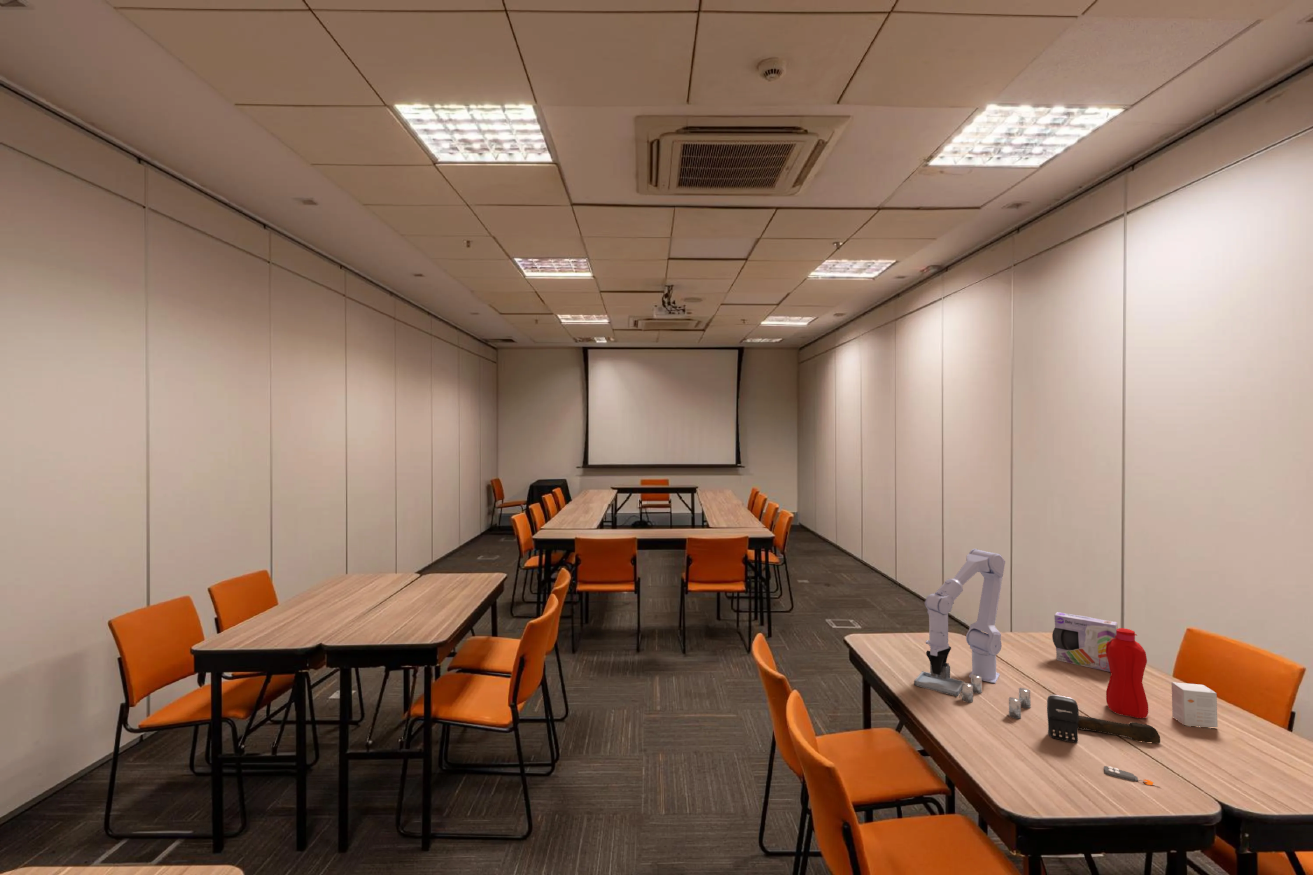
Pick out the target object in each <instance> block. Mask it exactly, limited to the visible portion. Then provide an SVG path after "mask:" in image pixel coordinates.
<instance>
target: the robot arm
mask: <svg viewBox="0 0 1313 875" xmlns="http://www.w3.org/2000/svg"><path fill="white" fill-rule="evenodd" d="M965 558H966V560H965V562H964V564H963V565H962V567H961V568H960V569H959V571H958V572H957V573H956V575H954V577H953V578H947V579H945V580H944V583H942V585H940V587H939V588H938V589H937V590H936V591H935V592H933V593H930V594H928V595H927V596H926V599H925V600H924V606H925V608H926V609H927V614H928V623H929V624H928V631H929V632H928V634H929V640H928V639H927V640H925V644H927V645H928V646H929V650H926V655H925V656H927V658H928V660H929V664H930V663H931V667H932V671H933V674H937V675H940V673H941V669H942V663H943V662H945V663H948V662H947V661H948V657H949V653H950V651H951V650H952V646H950V644H949V613H951V612H952V610H953V605H954V604H955V601H956V599H957V598H958V597H959V596H960V595H961V594H962V593H963V591H964V588H963V587H964V585H965V584H966V583H967V582H968V581H969V580H970V579H971V578H972V577H974V576H975V575H976V574H977V573H980V574H981V575H982V577H983V583H982V589H981V594H980V595H981V596H980V600H979V607H978V612H977V619H976V621H975V622H973V623H970V625H969V628H968V631H967V632H966V635H965V641H966V643H967V644H968V646H969V649H970V650H971V672H970V673H969V675H968V678H970V679H971V675H972V674H976V675H980V676H981V677H982V681H983V682H987V683H991V684H996V683H997V682H998V679H999V677H1000V673H999V672H997V655H999V653H1000V651H1001V650H1002V646H1003V645H1002V633H1001V632H1000V630H998V629H997V626H995V625H996V620H997V613H998V606H999V602H1000V597H1001V596H1000V595H1001V590H1002V584H1003V583H1002V582H1003V577H1004V572H1005V564H1006V560H1005V558H1004V557H1003V556H1002V555H1001V554H1000V553H997V552H992V551H991V552H990V551H985V550H981V549H978V548H972V549H971V550H970V551H969V552H968V553H967V555H966V556H965Z"/></svg>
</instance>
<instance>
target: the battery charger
mask: <svg viewBox="0 0 1313 875" xmlns="http://www.w3.org/2000/svg"><path fill="white" fill-rule="evenodd" d="M1046 715H1047V716H1046V717H1047V734H1048V736H1049V737H1050V738H1052V739H1055V740H1059V741H1065V742H1069V743H1078V742H1079V741H1078V740H1079V739H1078V738H1079V735H1078V732H1079V731H1078V730H1079V728H1078V721H1079V716H1080V715H1079V706H1078V702H1077V701H1076V699H1074V698H1072V697H1070V696H1064V695H1059V694H1049V695H1048V696H1047V699H1046Z"/></svg>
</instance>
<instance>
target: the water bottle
mask: <svg viewBox="0 0 1313 875" xmlns="http://www.w3.org/2000/svg"><path fill="white" fill-rule="evenodd" d="M1136 636H1137V634H1136V632H1135V630H1132V629H1128V628H1125V627H1120V628H1118V629H1117V630H1116V635H1114V638H1112V639H1111V640H1109V641H1108V642H1107V643H1106V658H1107V659H1108V663H1109V668H1110V672H1109V673H1110V676H1109V680H1108V683H1107V688H1106V689H1105V690H1106V691H1105V692H1106V693H1105V699H1106V704H1107V706H1108V709H1109V710H1110V711H1111V712H1113V713H1115V714H1117V715H1119V716H1125V717H1130V718H1131V717H1132V718H1136V719H1138V720H1139V719H1145V718H1147V717H1148V714H1149V702H1148V699H1147V695H1146V691H1145V687H1144V684H1143V680H1144V675H1145V674H1144V673H1145V671H1146V668H1147V667H1146V666H1147V663H1148V659H1147V653H1146V650H1145V649H1144V647H1143V645H1141V644H1140V643H1139V642H1137V640H1136ZM1104 646H1105V645H1104ZM1103 648H1104V647H1103ZM1102 651H1103V649H1102ZM1101 654H1102V652H1101ZM1100 657H1101V655H1100ZM1099 664H1100V660H1099ZM1100 667H1101V666H1100ZM1106 667H1107V665H1106ZM1106 667H1105V668H1106ZM1105 668H1102V669H1105Z"/></svg>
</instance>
